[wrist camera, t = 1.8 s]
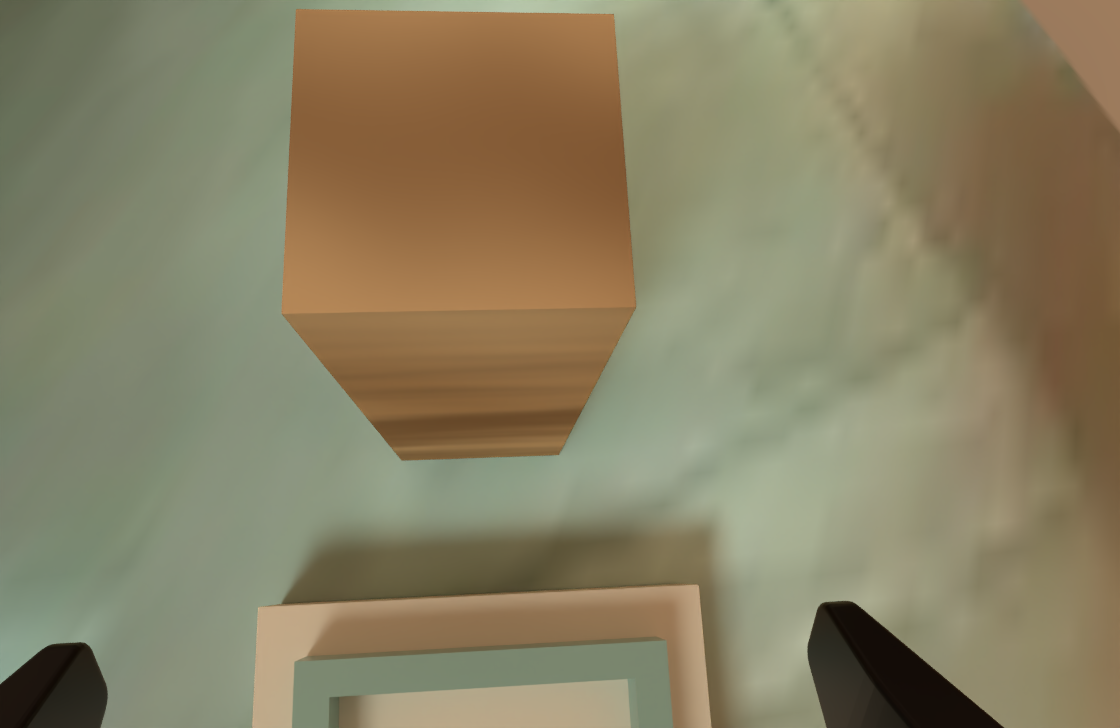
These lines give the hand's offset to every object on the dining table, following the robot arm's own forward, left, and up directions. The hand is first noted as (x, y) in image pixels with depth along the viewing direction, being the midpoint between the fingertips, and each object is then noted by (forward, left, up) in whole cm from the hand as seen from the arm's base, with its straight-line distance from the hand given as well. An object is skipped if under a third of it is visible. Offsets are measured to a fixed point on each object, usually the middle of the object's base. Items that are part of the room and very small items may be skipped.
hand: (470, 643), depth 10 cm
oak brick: (+5, +4, -12) cm, 14 cm away
